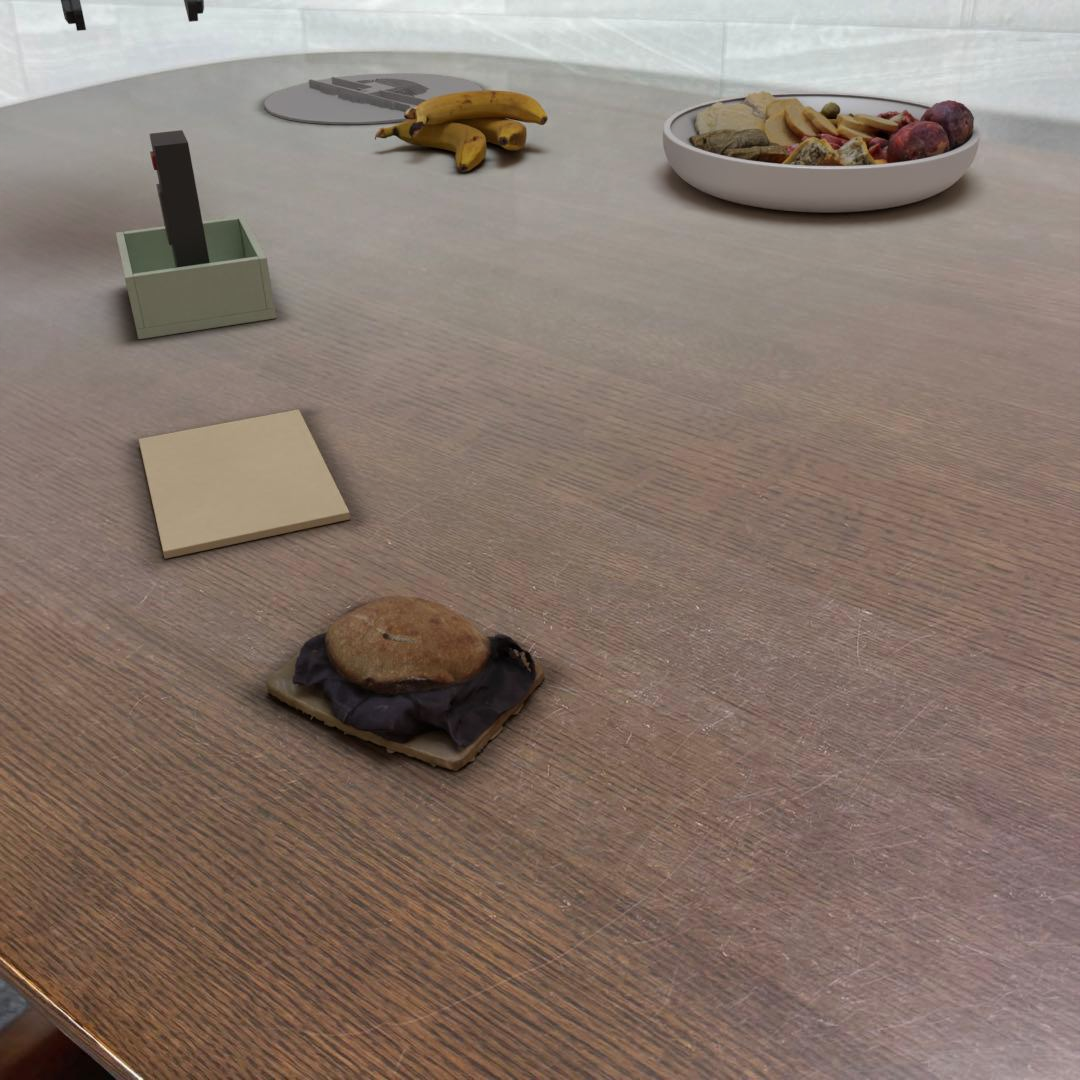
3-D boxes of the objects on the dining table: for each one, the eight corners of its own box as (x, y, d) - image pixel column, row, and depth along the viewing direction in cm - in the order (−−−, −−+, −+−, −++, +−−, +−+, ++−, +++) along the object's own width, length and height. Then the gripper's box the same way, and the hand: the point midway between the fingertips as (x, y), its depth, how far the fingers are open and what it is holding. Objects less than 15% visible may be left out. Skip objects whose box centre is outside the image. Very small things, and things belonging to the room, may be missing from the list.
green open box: (138, 339, 89) (124, 277, 86) (128, 290, 98) (115, 232, 95) (276, 318, 92) (266, 257, 89) (254, 272, 101) (244, 215, 98)
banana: (384, 138, 138) (379, 86, 135) (550, 135, 137) (548, 82, 134) (363, 175, 125) (357, 118, 122) (546, 171, 124) (545, 114, 121)
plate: (225, 99, 157) (224, 90, 157) (402, 67, 172) (401, 58, 171) (339, 137, 139) (338, 126, 138) (526, 96, 154) (526, 86, 153)
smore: (254, 702, 53) (240, 636, 51) (372, 605, 59) (364, 542, 57) (451, 786, 48) (443, 715, 46) (558, 670, 54) (555, 604, 52)
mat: (350, 519, 66) (349, 511, 66) (164, 559, 63) (162, 551, 63) (299, 416, 77) (298, 408, 77) (139, 445, 74) (138, 438, 74)
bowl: (630, 212, 111) (631, 125, 107) (693, 133, 135) (696, 59, 131) (970, 234, 103) (985, 141, 99) (972, 146, 127) (985, 68, 123)
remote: (181, 305, 92) (150, 146, 86) (176, 288, 96) (145, 133, 89) (216, 300, 93) (188, 142, 87) (210, 283, 96) (182, 129, 90)
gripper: (-7, -190, 91) (33, -6, 88) (185, -197, 95) (229, -21, 92) (12, -115, 98) (49, 58, 95) (190, -124, 102) (231, 42, 99)
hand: (137, 19), depth 94 cm, fingers open, 8 cm apart
